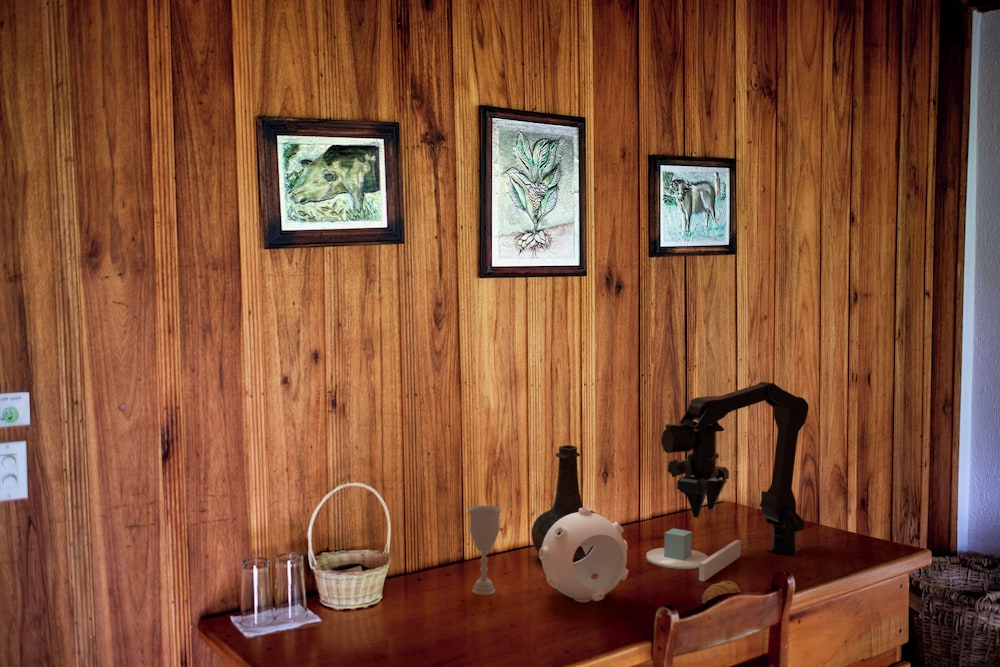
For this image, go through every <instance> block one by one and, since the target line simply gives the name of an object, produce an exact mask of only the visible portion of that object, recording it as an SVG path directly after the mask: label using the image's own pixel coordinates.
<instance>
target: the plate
mask: <svg viewBox="0 0 1000 667" xmlns="http://www.w3.org/2000/svg"><path fill="white" fill-rule="evenodd" d="M645 554H646V560H647V561H648V562H649V563H651V564H653V565H655V566H659V567H662V568H666V569H667V568H668V569H676V570H693V569H699V563H701V562H702V561H704V560H705V559H707V558H708V557H709V556H708V555H707V554H705V553H704V552H701V551H698V550H695V549H692V554H691V556H690V557H689V558H687V559H685V560H684V561H682V560H677V559H672V558H667V557H664V547H659V548H653V549H650V550H649V551H648V552H646V553H645Z"/></svg>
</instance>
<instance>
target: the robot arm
mask: <svg viewBox="0 0 1000 667" xmlns="http://www.w3.org/2000/svg"><path fill="white" fill-rule="evenodd" d="M761 402H765V403H766V404H767V405H769V406H770V407H772V408H773V418H774V419H773V420H774V421H775V424H776V428H777V435H776V436H777V437H776V444H775V445H776V446H775V451H774V452H775V453H774V463H773V468H772V477H771V478H772V479H771V484H770V486H769V488H768V489H767V491H766V490H762V491H761V495H760V496H761V500H760V503H759V505H758V506H759V507H761V514H762V515H763V516H764V517H765V521H766V524H768V525H771V526H772V543H771V544H772V545H771V546H770V547H769V548H767V552H770V553H776V554H780V555H781V554H782V555H786V556H794V555H796V554H798V552H800V551H801V547H797V533H798V532H801V531H803V530H804V528H805V525H806V523H805V521H804V519H802V517H801V516H800V515H799V514H798V513H797V501H796V497H795V495H794V492H793V487H792V486H793V479H794V473H795V472H794V471H795V463H796V454H797V446H798V445H797V444H798V439H799V432H800V430H801V429H802V428H803V427H804V425H805V424H806V421H807V417H808V414H809V408H810V407H809V403H808V402H807V400H806V399H805V398H803V397H801V396H796V395H794V394H792V393H791V392H789V391H786V390H784V389H782V388H781V387H779V386H778V385H777V384H776V383H773V382H769V381H761V382H758V383H757V384H754V385H751V386H748V387H745V388H744V387H743V388H742V389H738V390H735V391H731V392H729V393H726V394H723V395H722V394H721V395H710V396H700V397H695V398H693V399H692V400H690V403H689V405H688V408H687V410H686V411H685V413H684V415H683V417H682V418H681V419H680V421H679V422H678V423H677V424H672V423H667V424H665V429H664V430H663V432H662V435H661V437H660V441H661V447H662V449H663V451H664V452H665V453H666V454H673V453H682V452H683V453H685V452H690V451H691V453H689V454H688V455H687V459H683V460H678V458H677V459H673V460H670V461H668V465H667V473H669V474H671V477H672V478H676V477H677V476H680V475H681V476H682V475H684V474H686V475H685V476H682V477H680V478H679V479H678V480H677V482H676V489H677V490H678V491H679V492H680V493H683V495H685V496H686V498H687V500H688V503H689V506H690V509H691V513H692V516H693V518H696V519H698V518H699V517H700V513H701V512H702V508H703V505H704V502H705V499H706V503H707V504H706V505H707V509H708V510H714V508H715V505H716V503H717V500H718V499H719V496H720V495H721V493H722V491H723V489H724V486H726V483H727V482H728V480H729V479H730V471H729V469H728V468H727V467H725V466H720V465H719V466H718V465H717V459H719V457H720V454H719V453H717V432H718V433H719V432H724V431H725V428H724V427H723V426H722V425H721V424H719V422H718V421H721V420H722V419H725V417H726V416H727V415H728V414H730V413H731V412H735V411H737V410H741V409H744V408H746V407H748V406H752V405H754V404H755V405H756V404H758V403H761Z"/></svg>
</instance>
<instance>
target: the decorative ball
mask: <svg viewBox="0 0 1000 667" xmlns="http://www.w3.org/2000/svg"><path fill="white" fill-rule="evenodd" d="M591 510H592V509H591V508H589V507H583V508H580V509H579V512H577V513H572V514H569V515H567V516H564V517H563V518H561V519H559V520H558V521H557V522H556V523H555V524H554V525H553V526H552V527H551V528H550V529H549V531H548V532H547V534H546V536H545V538H544V541H543V544H542V548H540V550H539V553H538V558H539V559H540V561H541V564H542V569H543V572H544V574H545V576H546V581H547V584H548V585H549V586H551V587H552V588H553V589H556V590H557V591H559V593H561V594H563V595H564V596H566V597H568V598H572V599H574V601H575V602H579V603H587V602H590V601H591V600H593V602H599V601H602V600H603V599H605V597H606V596H605V595H607V594H608V593H610V592H611V591H612V590H614V589H615V588H616V586H618V584H619V583H620V581H625V580H626V579H627V577H628V574H629V569H628V568H626V567H627V561H628V556H627V555H628V553H627V551H628V550H629V547H628V546H629V545H628V542H627V541H626V540H625V539H624V538H623V535H622V534H623V532H625V530H624V529H623V527H622V525H620V523H619V522H618V521H615V522H611V521H610V520H609V519H607V518H605V517H604V516H602V515H600V514H597V513H596V514H594V513H595V512H594V513H591ZM560 531H561V534H560V535H558V533H559V532H560ZM557 535H558V536H557ZM578 546H582V548H583V550H584V552H585V555H586V554H587V553H588V551H589V550H590V548H591V547H592V546H593V548H592V550H591V552H590V553H589V554H588V555H587V556H586V557H585V558H583V559H581V560H580V561H577V562H574V563H573V557H574V554H575V551H576V549H577V548H578ZM594 574H595V575H597V577H596V578H592V576H593V575H594Z"/></svg>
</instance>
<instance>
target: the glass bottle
mask: <svg viewBox="0 0 1000 667" xmlns="http://www.w3.org/2000/svg"><path fill="white" fill-rule="evenodd" d="M580 455H581V454H580V453H579V452H578V447H577V446H575V445H571V444H569V445H568V444H567V445H561V446H559V447H558V452H556V453H555V457H556V458H558V471H557V473H558V474H557V482H556V484H557V485H556V490H555V491H556V492H555V498H554V501H553V502H554V503H553V506H552V507H551V509H550V510H547V511H544V512H543V513H541V514H540V515H539V516H538V517H537V518H536V519H535V521H534V523H533V525H532V528H531V541H532V544H533V546H534V548H535V550H536V551H537V553H538V554H539V550H540V548H542V544H543V541H544V538H545V536H546V534H547V532H548V531H549V529H550V528H551V527H552V526H553V525H554V524H555V523H556V522H557V521H558V520H559V519H561V518H563V517H564V516H567V515H569V514H572V513H577V512H579V509H580V508H584V506H583V503H582V498H581V494H580V487H579V486H580V485H579V476H578V474H579V472H578V457H580ZM591 513H594V514H597V513H596V512H595V511H593V510H592V509H591ZM560 534H561V531H560V532H559V533H558V535H560ZM558 535H557V536H558ZM592 548H593V546H592V547H591V548H590V550H589V551H588V553H587V554H586V555H585V552H584V550H583V548H582V546H578V548H577V549H576V551H575V554H574V557H573V563H574V562H577V561H580V560H581V559H583V558H585V557H586V556H587V555H588V554H589V553H590V552H591V550H592Z"/></svg>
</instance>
